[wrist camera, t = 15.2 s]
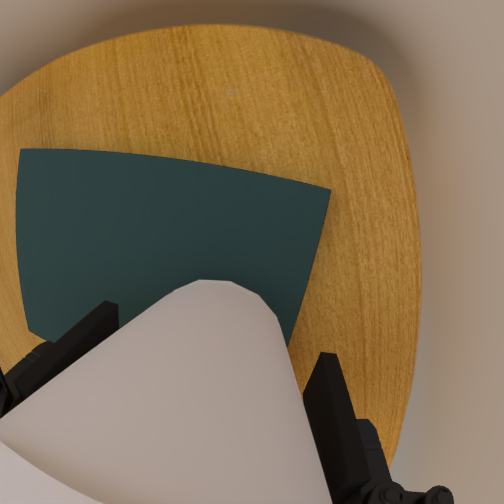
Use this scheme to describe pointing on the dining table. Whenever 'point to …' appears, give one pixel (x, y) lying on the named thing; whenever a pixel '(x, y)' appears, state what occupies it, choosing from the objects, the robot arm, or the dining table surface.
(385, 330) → the dining table surface
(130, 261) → the mat
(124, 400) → the foam cup
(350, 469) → the robot arm
